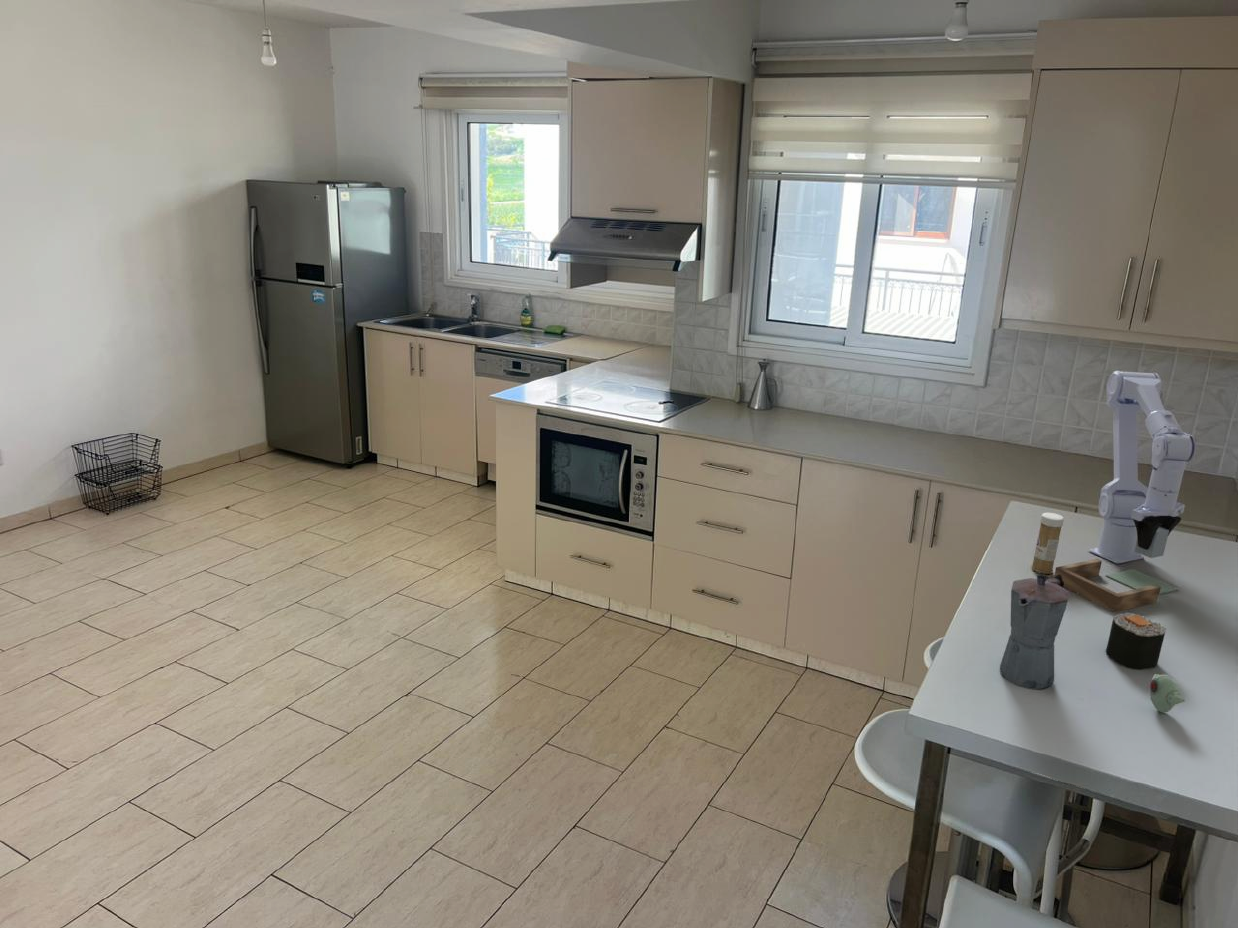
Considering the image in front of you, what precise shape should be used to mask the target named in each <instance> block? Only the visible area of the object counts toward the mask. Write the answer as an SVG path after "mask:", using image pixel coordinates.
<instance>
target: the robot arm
mask: <svg viewBox="0 0 1238 928" xmlns="http://www.w3.org/2000/svg"><path fill="white" fill-rule="evenodd" d="M1106 383H1107V384H1106V403H1107V404H1106V405H1107V408H1108V409H1110V410H1111V411H1112V414H1113V415H1112V416H1113V417H1112V418H1113V424H1112V425H1113V433H1112V434H1113V479H1112V481H1110V482H1108V483H1106V484H1104V485H1103V487H1102V488H1101V490H1100V498H1099V500H1098V513H1099V515H1100V516H1101V518H1102V519H1104V520H1103V524H1102V529H1101V534H1100V537H1099V542H1098V547H1095V548H1089V550H1088V552H1090V553H1092V554H1094V555H1096V556H1099V557H1101V558H1104V559H1106V560H1108V561H1111V562H1113V563H1115V564H1124V563H1127V562H1132V561H1137V560H1142V559H1144V558H1145V555H1142V554H1140V553H1137V552H1135V551H1134V550H1135V546H1136V542H1137V538H1138V547H1141V548H1143V549H1145V550H1148V549H1149V547H1150V545H1151V543H1152V540H1153V537H1154V535H1155V533H1156V531H1157V530H1158V528H1159V527H1162V528H1165V529H1168V530H1169V533H1168V537H1169V535H1170V533H1172V532H1173V530H1174V528H1175V527H1176V526H1177V525H1179V523H1181V520H1182V517H1180V514H1184V512H1185V507H1186V504H1184V503H1181V502H1178V501H1177V500H1178V498H1179V493H1180V489H1181V485H1182V481H1183V477H1184V472H1185V468H1186V464H1187V463H1188V462H1190V461H1192V459H1193V458H1194V456H1195V453H1196V440H1195V438H1194V436H1193V435H1192V434H1189V433H1187V432H1184V431H1183V430H1182V429H1181V426H1180V424H1179V423H1178V421H1177V419H1176V417H1175V415H1174V413H1172V412H1171V411H1169V410H1167V409H1165V407H1164V405H1163V400H1162V399H1161V396H1160V394H1161V391H1162V379H1161V377H1160V375H1159V374H1158V373H1157V372H1151V373H1150V372H1137V371H1136V372H1133V371H1120V370H1114V371H1113V372H1112V373H1111V374H1110V376H1109V377H1108V381H1107V382H1106ZM1140 412H1144V414H1145V415H1146V419H1145V421H1144V425H1145V427H1146V430H1147V431H1148V433H1149V435H1150V438H1151V439H1152V445H1151V454H1152V455H1151V466H1152V471H1151V474H1150V479H1149V484H1148V487H1147V486H1146V485H1145V484H1143V483H1142V482H1141V481H1140V480H1139V478H1138V477H1139V472H1138V470H1139V467H1138V459H1139V458H1138V457H1139V455H1138V453H1139V452H1138V414H1139V413H1140Z"/></svg>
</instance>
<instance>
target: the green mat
mask: <svg viewBox="0 0 1238 928" xmlns="http://www.w3.org/2000/svg"><path fill="white" fill-rule="evenodd" d="M1105 577H1107V578H1109V579H1111V580H1113V581H1116V582H1117V583H1120V584H1123V585H1124V586H1126V587H1129V588H1131V589H1132V590H1134V589H1139V588H1143V587H1147V586H1151V585H1158V586H1160V587H1161V589H1160V593H1159V595H1164V594H1167V593H1172V592H1175V591H1179V588H1177V587H1175V586H1173V585H1170V584H1168V583H1166V582H1163V581H1161V580H1159V579H1156V578H1155V577H1152V576H1149V575H1147V574H1145V573H1143V572H1141V571H1138V570H1136V569H1134V568H1132V569H1128V570H1122V571H1118V572H1114V573H1108V574H1105Z"/></svg>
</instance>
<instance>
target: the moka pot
mask: <svg viewBox="0 0 1238 928" xmlns="http://www.w3.org/2000/svg"><path fill="white" fill-rule="evenodd" d="M1047 578H1048V576H1046V575H1045V574H1038V575H1036V578H1034V577H1029V578H1024V579H1016V580H1014V581H1013V582H1012V587H1011V589H1010V592H1011V593H1010V628H1011V629H1010V635H1009V637H1008V640H1007V643H1006V646H1005V650H1004V652H1003V655H1002V658H1001V662H1000V665H999V672H1000V675H1001V677H1003V678H1004V679H1005V680H1006V681H1008V682H1009V683H1011V684H1013V685H1015V686H1019V687H1021V688H1026V689H1031V690H1032V689H1033V690H1040V689H1043V690H1044V689H1046V688H1049V687H1050V686H1051V685H1052V684H1053V683H1054V682H1055V641H1056V637H1057V635H1058V634H1059V633H1058V632H1059V630H1060V627H1061V623H1062V621H1063V618H1064V614H1065V611H1066V609H1067V605H1068V602H1069V593H1070V591H1069V590H1068V589H1067V588H1065V587H1063V586H1064V582H1063V581H1062V577H1061V575H1060V574H1058V575H1057V576H1056V577H1055V578H1054V577H1050V578H1048V579H1047Z"/></svg>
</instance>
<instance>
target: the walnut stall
mask: <svg viewBox="0 0 1238 928" xmlns="http://www.w3.org/2000/svg"><path fill="white" fill-rule="evenodd" d="M1102 561H1103V560H1101V559H1098V558H1095V559H1090V560H1086V561H1080V562H1075V563H1072V564H1066V565H1065V564H1064V565H1062V566H1061V565H1060V566H1056V567H1055V571H1054V575H1053V578H1055V577H1056V576H1057V575H1058V574H1060V575H1061V577H1062V581H1063V582H1064V586H1063V588H1064V589H1066V590H1068V591H1071V590H1072V591H1071V592H1073V591H1074V592H1073V593H1075V592H1076V593H1075V594H1077V593H1078V595H1079V596H1082V597H1083V598H1084V599H1085V598H1086V599H1087V600H1089V601H1092V602H1093V603H1096V604H1097V605H1100V606H1101V607H1104V608H1106V609H1108V610H1110V611H1112V612H1114V613H1116V612H1118V613H1119V612H1121V611H1125V610H1129V609H1134V608H1138V607H1142V606H1145V605H1146V606H1147V605H1150V604H1154V603H1157V602H1158V600H1159V593H1160V589H1161V587H1160V586H1158V585H1151V586H1147V587H1143V588H1139V589H1131V590H1127V591H1126V590H1125V591H1121V592H1118V593H1117V592H1115V591H1113V590H1111V589H1109V588H1107V587H1105V586H1102V585H1100V584H1099V583H1096V582H1094V581H1092V580H1090V579H1088V578H1091V577H1096V576H1099V575H1100V572H1101V568H1102V564H1103V563H1102Z"/></svg>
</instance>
